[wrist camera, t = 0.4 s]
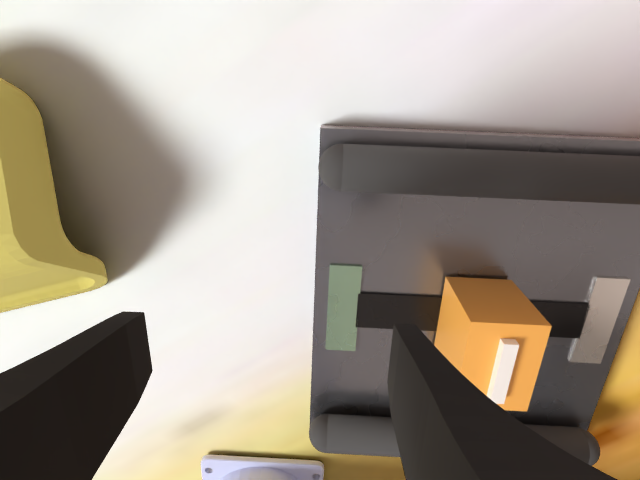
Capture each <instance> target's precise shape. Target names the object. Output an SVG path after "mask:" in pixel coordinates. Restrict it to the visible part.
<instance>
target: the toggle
mask: <svg viewBox="0 0 640 480" xmlns="http://www.w3.org/2000/svg"><path fill="white" fill-rule="evenodd" d="M551 327H552V326H551V324H550V323H549V322H548V321H547V320H546V319H545V318H544V316H543V315H542V314H541V313H540V312H539V311H538V310H537V308H536V307H535V306H534V305H533V304H532V303H531V302H530V300H529V299H528V298H527V297H526V296H525V295H524V294H523V292H522V291H521V290H520V289H519V288H518V287H517V286H516V284H515V283H514V282H513V281H512V280H506V279H484V278H463V277H446V278H445V284H444V290H443V295H442V301H441V307H440V313H439V319H438V325H437V331H436V337H435V343H434V346H435V347H436V348H437V349H438V350H439V351H440V352H441V353H442V354H443V355H444V356H445V357H446V358H447V359H448V360H449V362H450V363H451V364H452V365H453V366H454V367H455V368H456V369H457V370H459V371H460V372H461V373H462V374H463V375H464V376H465V377H466V378H467V379H468V380H469V381H470V382H471V383H473V384H474V385H475V386H476V387H477V388H478V389H479V390H480V391H481V392H483V393H484V394H485V395H486V396H487V397H489V398H490V399H491V400H492V401H493V402H495V403H496V404H497V405H499V406H500V407H501V408H503V409H504V410H509V411H527V410H528V407H529V403H530V400H531V396H532V393H533V389H534V386H535V382H536V379H537V376H538V372H539V369H540V365H541V362H542V358H543V355H544V351H545V348H546V344H547V341H548V338H549V334H550V331H551Z"/></svg>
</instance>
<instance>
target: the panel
mask: <svg viewBox="0 0 640 480" xmlns="http://www.w3.org/2000/svg"><path fill="white" fill-rule="evenodd" d="M337 144H362V145H386V146H410V147H434V148H457V149H481V150H505V151H529V152H552V153H576V154H600V155H623V156H640V138H624V137H600V136H576V135H552V134H528V133H503V132H479V131H455V130H431V129H407V128H383V127H358V126H334V125H321V128H320V156H319V161H320V158H321V156H322V154H323V153H324V152H325V151H326V150H327V149H328V148H329V147H331V146H333V145H337ZM446 277H463V278H484V279H506V280H512V281H513V282H514V283H515V284H516V286H517V287H518V288H519V289H520V290H521V291H522V292H523V294H524V295H525V296H526V297H527V298H528V299H529V300H530V302H531V303H532V304H533V305H534V306H535V307H536V308H537V310H538V311H539V312H540V313H541V314H542V315H543V316H544V318H545V319H546V320H547V321H548V322H549V323H550V324H551V326H552V327H551V331H550V334H549V338H548V341H547V344H546V348H545V351H544V355H543V358H542V362H541V365H540V369H539V372H538V376H537V379H536V382H535V386H534V389H533V393H532V396H531V400H530V403H529V407H528V410H527V411H509V410H505V411H506V412H508V413H509V414H510V415H512V416H513V417H514V418H516V419H517V420H519V421H520V422H521V423H523V424H529V425H548V426H567V427H578V428H582V429H584V430H586V431H587V430H588V427H589V424H590V421H591V419H592V416H593V413H594V411H595V408H596V405H597V402H598V400H599V397H600V394H601V392H602V389H603V386H604V383H605V381H606V378H607V375H608V373H609V370H610V367H611V364H612V362H613V359H614V356H615V354H616V351H617V348H618V345H619V343H620V340H621V337H622V335H623V332H624V329H625V326H626V324H627V321H628V318H629V316H630V313H631V310H632V307H633V305H634V302H635V299H636V297H637V294H638V291H639V288H640V205H638V204H615V203H593V202H570V201H547V200H525V199H502V198H479V197H457V196H434V195H412V194H389V193H366V192H344V191H336V190H333V189H331V188H329V187H328V186H327V185H325V184H324V182H323V181H322V179H321V177H320V174H319V184H318V212H317V240H316V268H315V295H314V323H313V351H312V379H311V407H310V426H311V423H312V422H313V420H314V419H315V418H316V417H318V416H319V415H322V414H343V415H361V416H380V417H391V412H390V403H389V394H388V384H387V379H388V370H389V361H390V352H391V344H392V335H393V326H394V324H415V325H416V326H417V327H418V328H419V329H420V330H421V331H422V332H423V333H424V335H425V336H426V337H427V338H428V339H429V340H430V341H431V342H432V343H433V345H434V343H435V337H436V331H437V325H438V319H439V313H440V307H441V301H442V295H443V290H444V284H445V278H446Z"/></svg>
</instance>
